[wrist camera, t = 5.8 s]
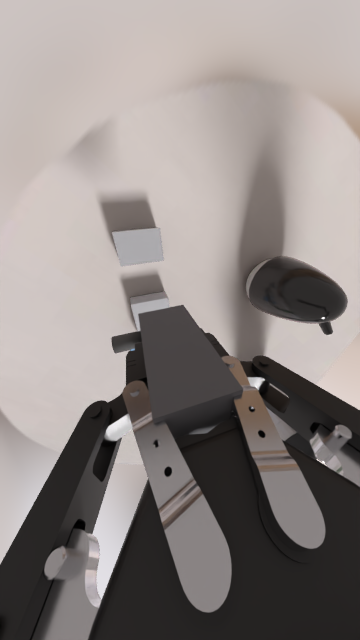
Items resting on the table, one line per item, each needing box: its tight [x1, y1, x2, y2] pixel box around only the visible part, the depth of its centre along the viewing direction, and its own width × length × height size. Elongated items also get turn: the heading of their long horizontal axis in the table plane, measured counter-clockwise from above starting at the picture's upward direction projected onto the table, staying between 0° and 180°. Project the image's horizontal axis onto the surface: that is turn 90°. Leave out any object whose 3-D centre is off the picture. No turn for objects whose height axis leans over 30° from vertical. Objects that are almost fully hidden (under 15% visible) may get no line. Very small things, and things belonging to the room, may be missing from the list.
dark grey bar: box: [112, 305, 244, 439], centre depth 11 cm, size 6×4×9 cm, turn 93°
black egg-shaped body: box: [246, 256, 348, 335], centre depth 27 cm, size 10×10×15 cm
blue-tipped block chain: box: [112, 227, 169, 351], centre depth 29 cm, size 11×28×4 cm, turn 4°
